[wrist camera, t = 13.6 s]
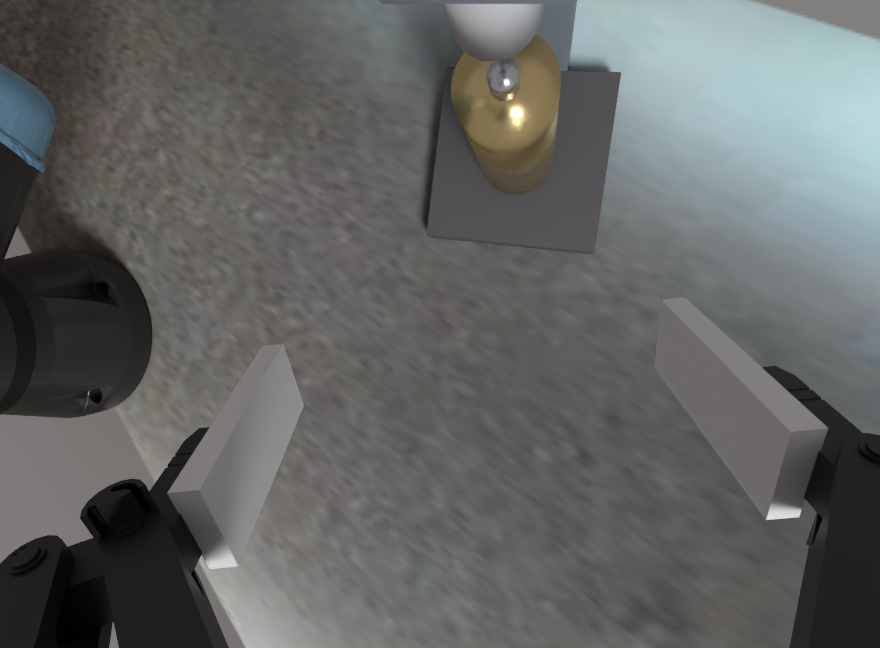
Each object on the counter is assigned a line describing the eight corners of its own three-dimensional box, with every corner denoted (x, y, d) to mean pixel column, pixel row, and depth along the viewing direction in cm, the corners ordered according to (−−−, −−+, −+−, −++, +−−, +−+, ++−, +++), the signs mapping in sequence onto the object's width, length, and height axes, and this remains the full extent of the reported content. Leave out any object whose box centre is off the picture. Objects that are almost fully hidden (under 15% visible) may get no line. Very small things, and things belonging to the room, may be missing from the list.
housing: (477, 192, 34) (440, 130, 21) (486, 121, 34) (452, 13, 21) (548, 197, 33) (554, 135, 20) (557, 123, 33) (569, 12, 20)
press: (393, 233, 37) (-20, 60, 10) (416, 34, 36) (11, -817, 8) (591, 254, 34) (800, 88, 7) (624, 37, 33) (1049, -1268, 5)
